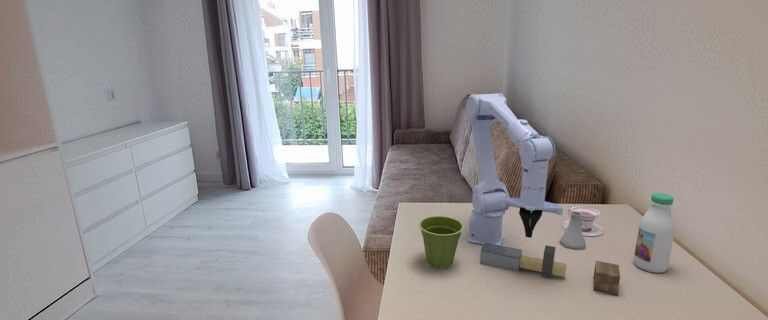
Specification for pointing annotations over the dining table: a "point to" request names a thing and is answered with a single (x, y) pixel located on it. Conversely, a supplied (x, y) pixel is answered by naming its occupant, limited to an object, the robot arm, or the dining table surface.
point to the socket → (606, 278)
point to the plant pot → (440, 239)
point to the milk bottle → (655, 235)
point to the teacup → (586, 220)
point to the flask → (574, 233)
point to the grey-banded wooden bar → (544, 263)
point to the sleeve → (500, 257)
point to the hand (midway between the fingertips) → (528, 235)
